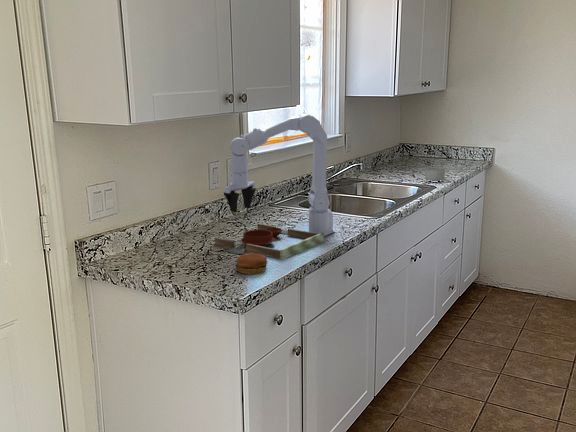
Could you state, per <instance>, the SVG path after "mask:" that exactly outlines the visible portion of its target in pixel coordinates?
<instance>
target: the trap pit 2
mask: <svg viewBox="0 0 576 432" xmlns="http://www.w3.org/2000/svg"><path fill="white" fill-rule="evenodd" d="M280 234H281V235H287V236H288V229H282V232H281V233H280ZM280 234H279V235H280Z"/></svg>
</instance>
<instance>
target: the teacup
mask: <svg viewBox="0 0 576 432" xmlns="http://www.w3.org/2000/svg"><path fill="white" fill-rule="evenodd" d="M445 169H446V167H443V166H430V167H425V168H424V178H425V180H426V181H427V180H432V181H440V180H442V181H443V180H444V179H445V176H446V171H445Z"/></svg>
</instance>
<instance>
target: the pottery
mask: <svg viewBox="0 0 576 432" xmlns="http://www.w3.org/2000/svg"><path fill="white" fill-rule="evenodd" d="M282 230H283V229H282V228H281V227H276V228H267V229H265V230H258V229H251V230H247V231H245V232H243V234H242V236H243V237H242V238H241V240H240V242H241V243H243V244H245V245H246V244H252V245H257V246H263V247H267V245H269V244H271V243H274V242H276V239H278V238H279V237H278V236H279V235H280V233H281V232H282Z"/></svg>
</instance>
